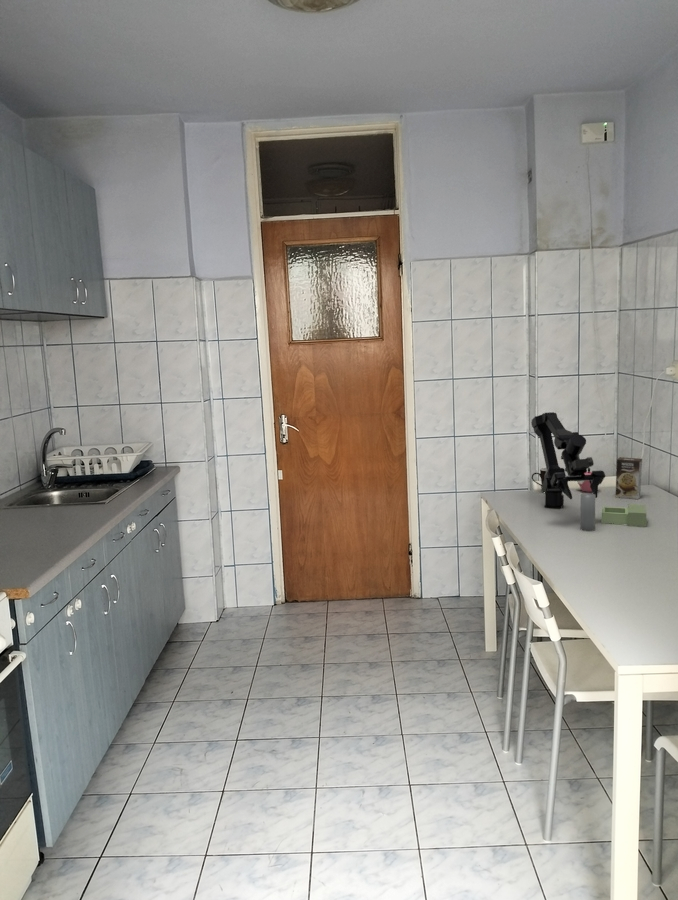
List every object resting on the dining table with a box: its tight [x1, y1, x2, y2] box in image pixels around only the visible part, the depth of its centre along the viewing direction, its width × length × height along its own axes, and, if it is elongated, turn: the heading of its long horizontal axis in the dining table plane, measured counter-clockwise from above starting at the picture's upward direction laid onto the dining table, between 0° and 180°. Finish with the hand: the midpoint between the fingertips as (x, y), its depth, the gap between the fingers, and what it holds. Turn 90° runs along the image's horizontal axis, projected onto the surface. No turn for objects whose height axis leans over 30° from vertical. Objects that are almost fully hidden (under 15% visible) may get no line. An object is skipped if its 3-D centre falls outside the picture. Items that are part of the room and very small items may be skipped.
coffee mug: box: [531, 467, 547, 487], centre depth 318 cm, size 12×9×10 cm
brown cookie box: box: [615, 456, 643, 500], centre depth 303 cm, size 9×6×16 cm
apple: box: [576, 467, 593, 493], centre depth 316 cm, size 10×9×10 cm
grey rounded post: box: [579, 492, 597, 532], centre depth 260 cm, size 5×5×12 cm
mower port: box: [600, 504, 647, 528], centre depth 269 cm, size 15×12×5 cm
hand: (584, 498), depth 263 cm, fingers open, 9 cm apart
